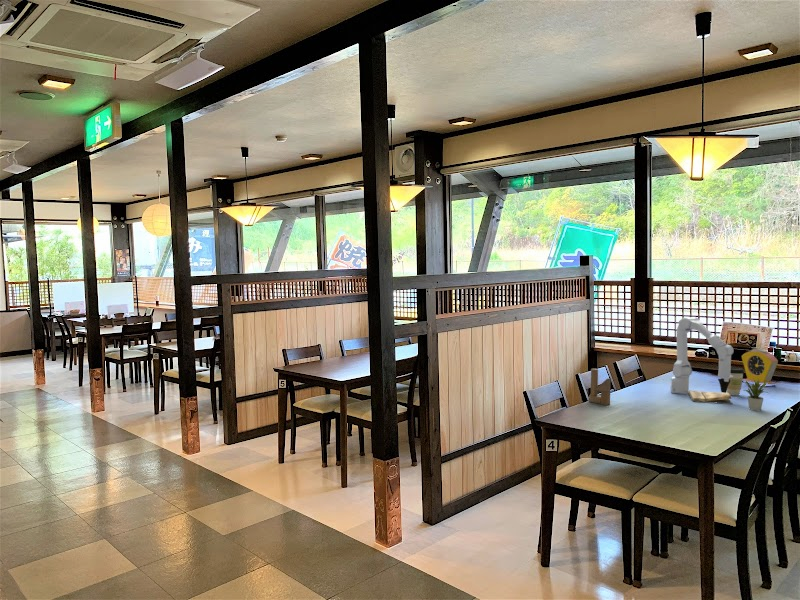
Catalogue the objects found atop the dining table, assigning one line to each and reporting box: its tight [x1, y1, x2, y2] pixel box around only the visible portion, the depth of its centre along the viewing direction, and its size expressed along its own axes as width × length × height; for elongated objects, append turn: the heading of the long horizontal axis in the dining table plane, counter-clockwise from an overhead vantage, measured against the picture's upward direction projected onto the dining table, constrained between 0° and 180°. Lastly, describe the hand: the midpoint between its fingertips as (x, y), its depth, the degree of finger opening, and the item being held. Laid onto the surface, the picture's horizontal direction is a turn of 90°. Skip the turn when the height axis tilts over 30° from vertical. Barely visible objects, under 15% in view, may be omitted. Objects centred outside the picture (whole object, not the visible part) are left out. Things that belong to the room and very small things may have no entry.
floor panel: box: [688, 390, 733, 405], centre depth 331 cm, size 19×20×2 cm
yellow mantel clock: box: [741, 348, 779, 384], centre depth 369 cm, size 22×9×22 cm, turn 17°
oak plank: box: [704, 392, 732, 401], centre depth 325 cm, size 12×9×1 cm
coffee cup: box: [726, 366, 745, 396], centre depth 340 cm, size 10×10×15 cm
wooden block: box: [588, 368, 612, 406], centre depth 321 cm, size 4×11×18 cm, turn 39°
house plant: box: [743, 378, 774, 411], centre depth 305 cm, size 14×14×16 cm
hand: (723, 392), depth 324 cm, fingers closed
